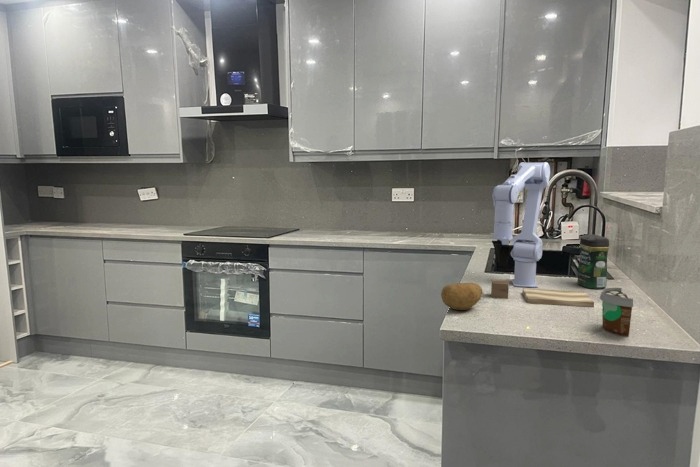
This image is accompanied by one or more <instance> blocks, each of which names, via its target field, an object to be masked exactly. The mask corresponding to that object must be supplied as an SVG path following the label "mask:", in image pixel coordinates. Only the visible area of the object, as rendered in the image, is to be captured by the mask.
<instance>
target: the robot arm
mask: <svg viewBox="0 0 700 467" xmlns="http://www.w3.org/2000/svg"><path fill="white" fill-rule="evenodd" d="M550 177H551V166H550V164H549V163H548V162H547V161H545V162H523V161H522V162H520V163H519V164H518V167H517V170H516V173H515V174H511V175H510V176H509V177H508V178H507V179H506V180H505V181H504V182H503V183H501V184H498V185H497V186H494V188H493V190H492V191H493V192H492V195H491V196H492V201H493V208H494V220H493V221H494V222H493V223H494V224H493V234H490V235H489V238H490V239H495V240H491V243H492V245H493V248H494V254H495V260H496V263H498V265H499V267H507V265H508V263H509V258H510V256H511V258H513V261H514V277H513V278H514V279H513V278H512V279H511V282H512V284H513V286H514V287H522V288H538V287H539V286H538V284H537V282H536V277H537V275H536V274H537V262H539V261H540V259H542V256H543V240H542V238H540V237H539V236H538V235H537V234H536V233H537V227H538V221H539V215H540V214H539V213H540V210H541V201H542V198H543V197H542V196H543V192H544V190H545V189H546V188H548V185H549V182H550ZM524 188H526V189H527V195H526V201H525V208H524V214H523V220H522V226H521V232H519V233H518V234H516V235H515V236H513V228H514V210H515V203H517V201H518V198H519V196H520V192H521V191H522V190H523V189H524ZM511 240H512V243H511V244H510V242H511Z"/></svg>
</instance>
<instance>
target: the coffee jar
mask: <svg viewBox="0 0 700 467" xmlns="http://www.w3.org/2000/svg"><path fill="white" fill-rule="evenodd" d="M579 240H580V241H579V252H580V253H579V264H578V272H577V284H578V285H580V286H582V287H584V288H587V289H594V290H601V289H602V290H603V289H606V288H607V282H608V281H607V277H608V273H607V272H608V270H607V269H608V253H609V250H610V239H609V238H607V237H606V236H601V235H597V234H594V233H593V234H582V236H580V239H579Z"/></svg>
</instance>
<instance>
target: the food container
mask: <svg viewBox="0 0 700 467" xmlns="http://www.w3.org/2000/svg"><path fill="white" fill-rule="evenodd" d="M622 289H623V288H622V287H605V288H602V291H601V292H600V294H599V299H600V300H601V302H602V306H601V307H602V308H601V310H602V312H601V313H602V319H601V320H602V329H603V330H604V332H607V333H610V334H613V335H617V336H624V337H630V328H631V321H632V320H631V319H632V313H633V312H632V310H633V308H634V298H629V297H628V295H627V294H626V293H623V292H622Z"/></svg>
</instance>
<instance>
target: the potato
mask: <svg viewBox="0 0 700 467" xmlns="http://www.w3.org/2000/svg"><path fill="white" fill-rule="evenodd" d="M482 295H483V289H482V286H481V285H480V284H478V283H475V282H458V283H452V284H447V285H445V286H444V287H443V288H442V289H441V293H440V297H441V299H442V302H443V304H444V305H445V306H447V307H449V308H450V309H453V310H458V311H466V310H469V309H471V308H472V307H474V306H475V305H477V303H479V302H480V300H481V299H482Z"/></svg>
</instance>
